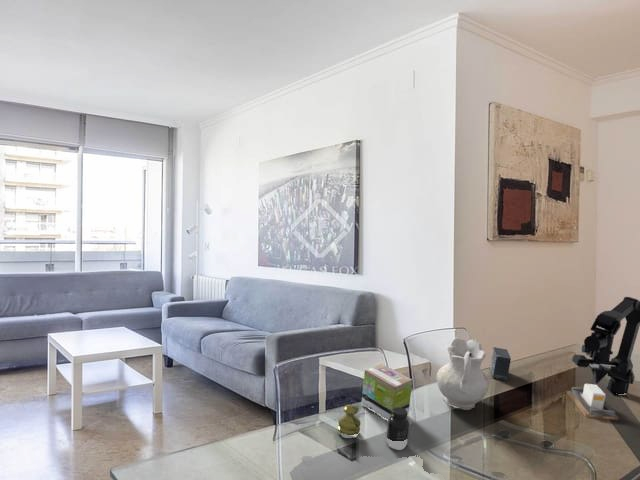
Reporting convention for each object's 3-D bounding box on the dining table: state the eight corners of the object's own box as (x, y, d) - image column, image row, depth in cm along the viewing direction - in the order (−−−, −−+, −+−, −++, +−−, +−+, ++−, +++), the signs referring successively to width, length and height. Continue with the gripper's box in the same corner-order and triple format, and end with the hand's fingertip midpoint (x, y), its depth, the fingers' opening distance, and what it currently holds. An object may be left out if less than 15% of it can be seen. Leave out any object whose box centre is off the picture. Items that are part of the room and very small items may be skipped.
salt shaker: (332, 432, 165) (335, 405, 163) (347, 424, 170) (349, 397, 168) (349, 442, 160) (352, 414, 158) (364, 433, 165) (366, 406, 163)
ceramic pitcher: (492, 424, 179) (507, 360, 175) (439, 416, 179) (453, 352, 174) (475, 394, 200) (488, 337, 196) (427, 387, 200) (439, 330, 195)
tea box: (360, 406, 183) (363, 369, 180) (378, 398, 189) (382, 362, 186) (391, 425, 172) (395, 386, 169) (409, 416, 178) (413, 378, 175)
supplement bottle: (408, 441, 163) (412, 408, 160) (404, 453, 156) (409, 419, 154) (388, 436, 165) (391, 403, 163) (383, 447, 159) (387, 413, 156)
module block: (593, 398, 199) (596, 384, 198) (602, 409, 191) (605, 394, 190) (582, 397, 199) (584, 383, 198) (590, 407, 191) (593, 393, 190)
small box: (508, 381, 212) (511, 358, 210) (492, 378, 213) (495, 356, 211) (504, 370, 222) (507, 348, 220) (489, 368, 223) (492, 346, 221)
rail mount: (596, 396, 204) (598, 389, 203) (618, 420, 186) (619, 413, 186) (566, 393, 205) (568, 386, 204) (585, 416, 187) (586, 409, 187)
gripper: (618, 340, 198) (610, 376, 201) (570, 335, 199) (563, 371, 202) (632, 351, 187) (624, 389, 190) (581, 346, 188) (574, 384, 191)
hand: (595, 383), depth 194 cm, fingers closed
